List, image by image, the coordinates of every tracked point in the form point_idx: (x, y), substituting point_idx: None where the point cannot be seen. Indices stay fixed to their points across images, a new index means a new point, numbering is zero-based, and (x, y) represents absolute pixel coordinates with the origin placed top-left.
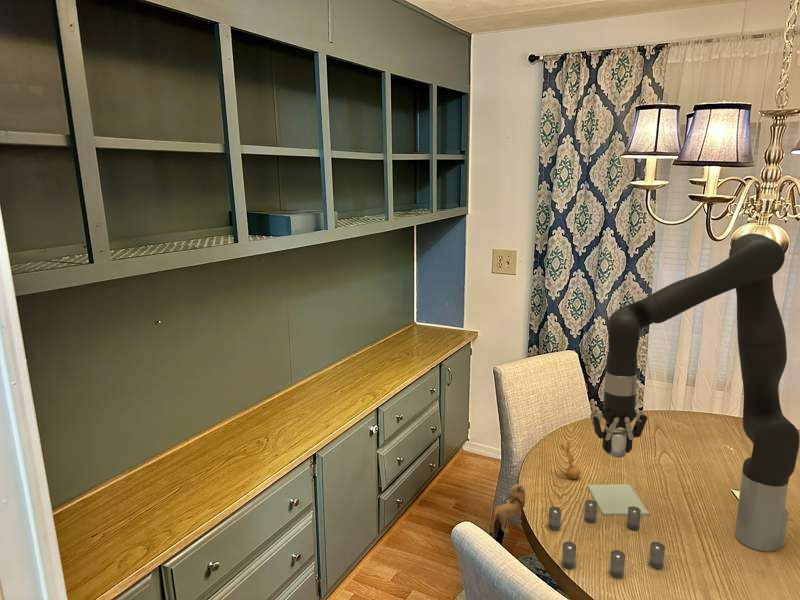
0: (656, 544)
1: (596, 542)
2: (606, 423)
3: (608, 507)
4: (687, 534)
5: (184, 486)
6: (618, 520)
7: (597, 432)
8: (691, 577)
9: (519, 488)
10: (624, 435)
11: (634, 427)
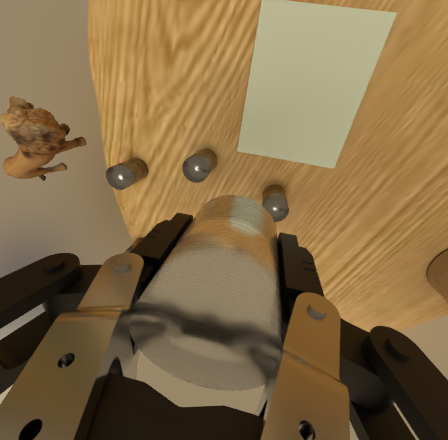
0: None
1: (193, 216)
2: (48, 370)
3: (259, 131)
4: (356, 231)
5: None
6: (259, 171)
7: (21, 339)
8: None
9: (16, 136)
10: (226, 387)
11: (405, 413)
